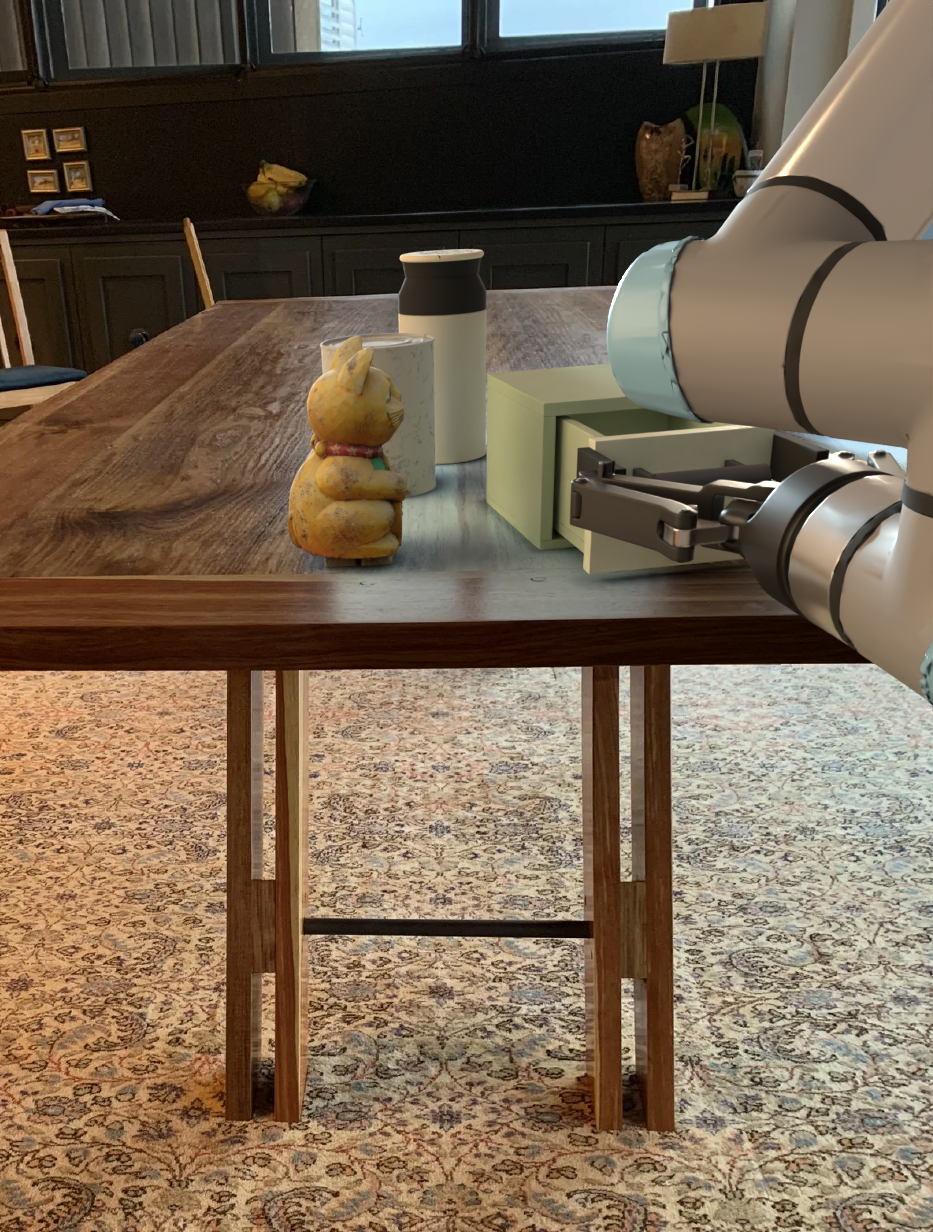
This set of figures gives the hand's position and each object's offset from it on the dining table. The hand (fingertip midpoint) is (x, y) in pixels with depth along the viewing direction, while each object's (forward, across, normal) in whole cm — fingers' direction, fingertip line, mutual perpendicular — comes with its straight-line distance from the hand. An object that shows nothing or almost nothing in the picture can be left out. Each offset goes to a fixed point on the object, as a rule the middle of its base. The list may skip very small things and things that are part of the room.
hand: (676, 460), depth 76 cm
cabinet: (+15, 0, -8) cm, 17 cm away
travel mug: (+41, -6, -8) cm, 42 cm away
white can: (+31, -14, -8) cm, 35 cm away
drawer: (+3, 0, -7) cm, 7 cm away
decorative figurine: (+10, -20, -8) cm, 24 cm away
